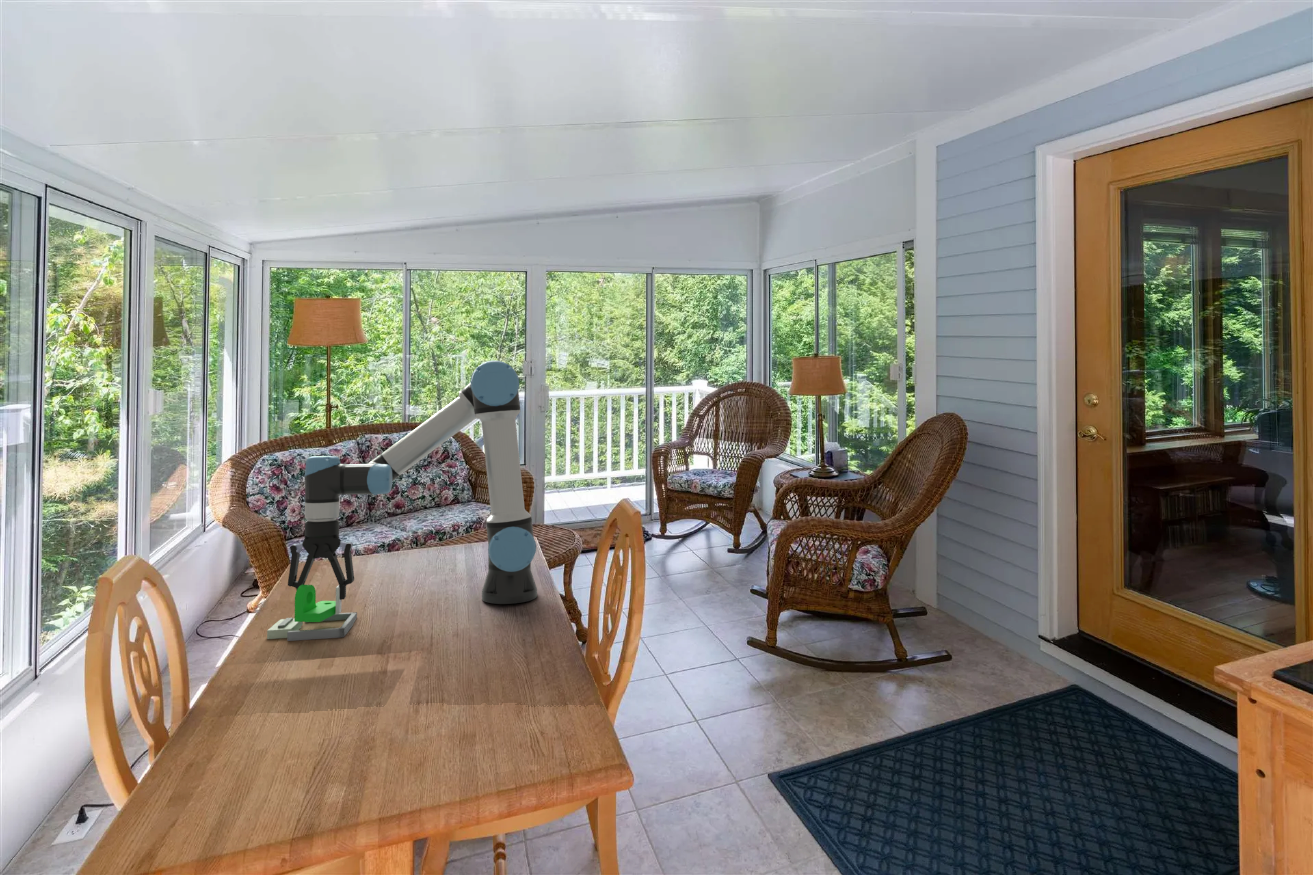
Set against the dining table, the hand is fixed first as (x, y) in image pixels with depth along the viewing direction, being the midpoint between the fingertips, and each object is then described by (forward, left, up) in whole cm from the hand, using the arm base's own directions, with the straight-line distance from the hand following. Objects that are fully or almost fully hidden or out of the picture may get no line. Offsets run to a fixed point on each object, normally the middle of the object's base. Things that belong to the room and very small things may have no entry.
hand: (321, 613), depth 162 cm
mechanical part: (0, 0, 0) cm, 1 cm away
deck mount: (0, 0, -4) cm, 4 cm away
